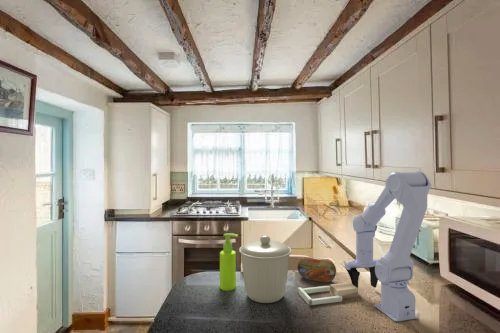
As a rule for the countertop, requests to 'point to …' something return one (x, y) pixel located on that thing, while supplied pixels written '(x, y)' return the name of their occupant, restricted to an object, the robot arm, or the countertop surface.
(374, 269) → the robot arm
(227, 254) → the soap dispenser
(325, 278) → the tin
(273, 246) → the canister
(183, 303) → the countertop surface
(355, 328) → the countertop surface
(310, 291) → the bracket
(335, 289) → the tan rectangular block
